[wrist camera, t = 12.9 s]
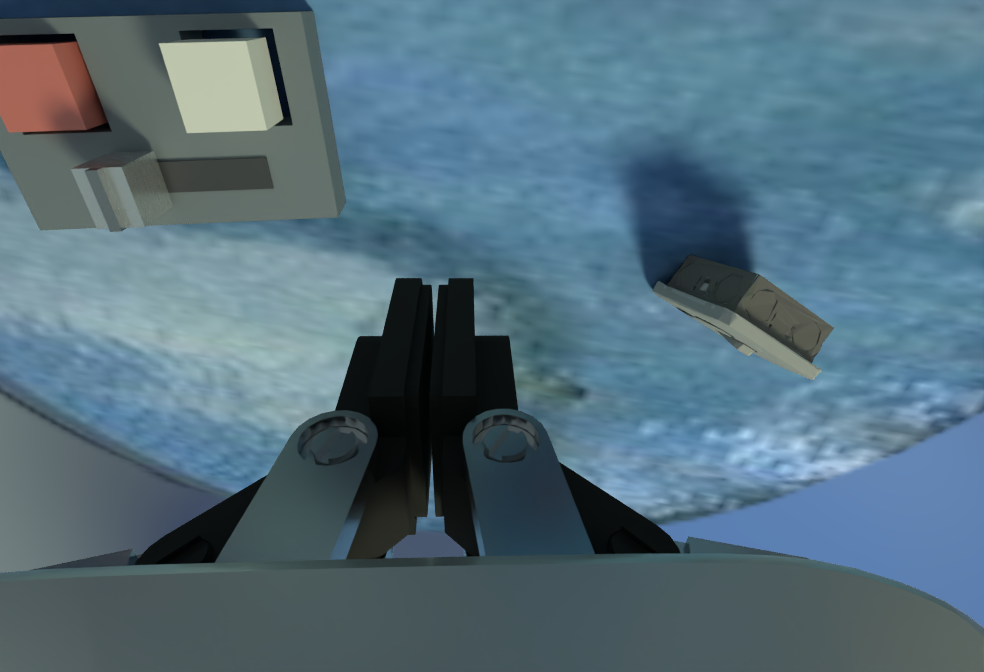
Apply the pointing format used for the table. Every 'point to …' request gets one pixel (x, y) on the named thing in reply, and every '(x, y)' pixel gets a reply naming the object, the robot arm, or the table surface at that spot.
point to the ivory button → (223, 84)
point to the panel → (160, 128)
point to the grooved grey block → (123, 189)
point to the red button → (47, 88)
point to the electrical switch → (748, 313)
